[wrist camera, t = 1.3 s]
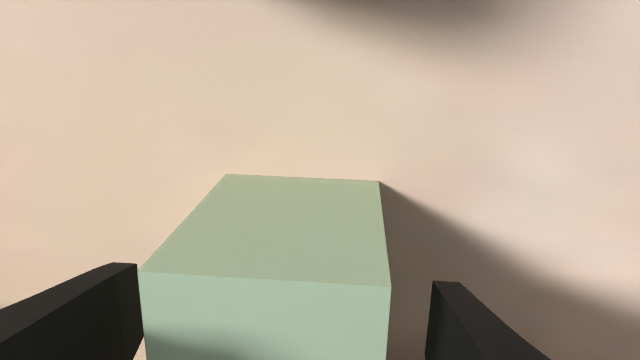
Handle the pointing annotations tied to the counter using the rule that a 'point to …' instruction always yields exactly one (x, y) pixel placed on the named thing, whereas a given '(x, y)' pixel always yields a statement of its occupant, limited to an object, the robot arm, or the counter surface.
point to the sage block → (272, 274)
